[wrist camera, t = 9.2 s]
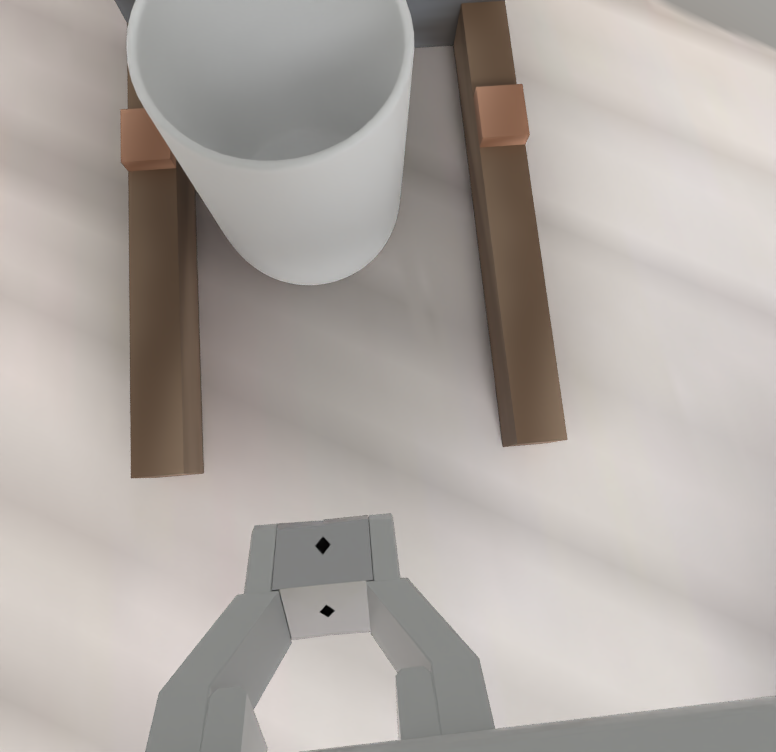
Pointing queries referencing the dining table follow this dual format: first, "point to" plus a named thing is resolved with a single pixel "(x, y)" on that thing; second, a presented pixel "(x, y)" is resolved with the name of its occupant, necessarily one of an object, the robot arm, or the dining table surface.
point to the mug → (283, 121)
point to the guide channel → (494, 234)
